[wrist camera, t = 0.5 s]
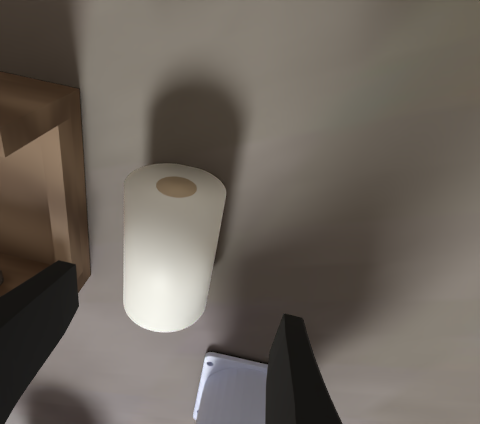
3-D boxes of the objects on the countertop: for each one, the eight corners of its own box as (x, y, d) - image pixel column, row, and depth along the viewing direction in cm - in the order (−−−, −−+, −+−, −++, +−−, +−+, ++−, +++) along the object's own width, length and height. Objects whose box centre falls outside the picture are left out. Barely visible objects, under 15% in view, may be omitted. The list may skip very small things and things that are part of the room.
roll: (213, 279, 25) (196, 341, 21) (140, 263, 25) (109, 321, 21) (233, 174, 20) (216, 225, 16) (145, 155, 20) (106, 200, 16)
